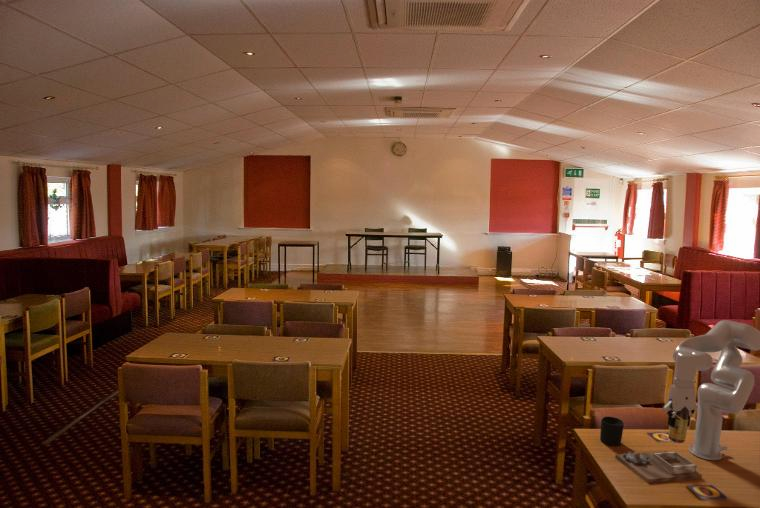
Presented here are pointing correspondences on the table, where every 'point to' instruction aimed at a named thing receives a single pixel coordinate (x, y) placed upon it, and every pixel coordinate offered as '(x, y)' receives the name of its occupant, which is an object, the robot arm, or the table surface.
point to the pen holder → (611, 431)
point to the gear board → (659, 466)
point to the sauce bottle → (679, 426)
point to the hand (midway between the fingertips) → (678, 425)
